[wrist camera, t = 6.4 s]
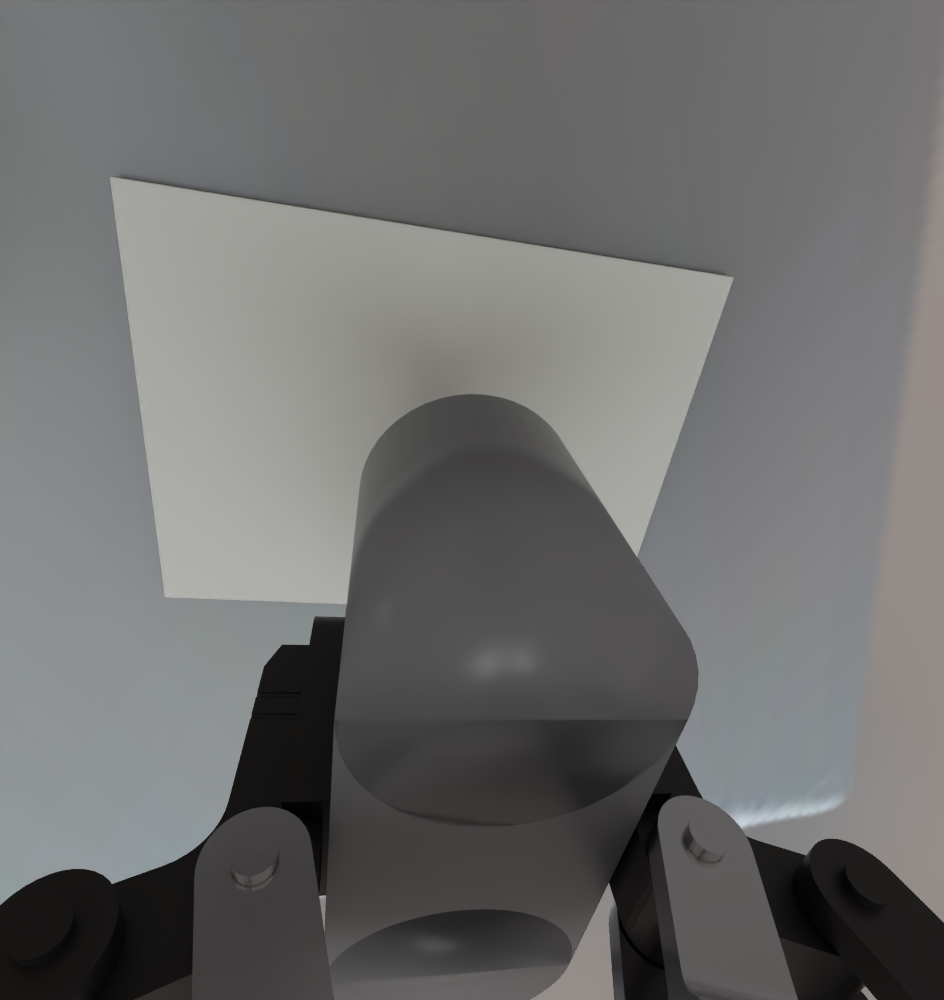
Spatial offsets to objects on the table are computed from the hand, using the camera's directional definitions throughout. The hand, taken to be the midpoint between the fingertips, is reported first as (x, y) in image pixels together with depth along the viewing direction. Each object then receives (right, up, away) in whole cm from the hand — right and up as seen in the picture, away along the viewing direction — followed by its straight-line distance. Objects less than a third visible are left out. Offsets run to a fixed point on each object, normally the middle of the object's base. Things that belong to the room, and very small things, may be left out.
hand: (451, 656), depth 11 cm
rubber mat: (-1, +5, +12) cm, 13 cm away
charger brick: (0, +1, +1) cm, 1 cm away
